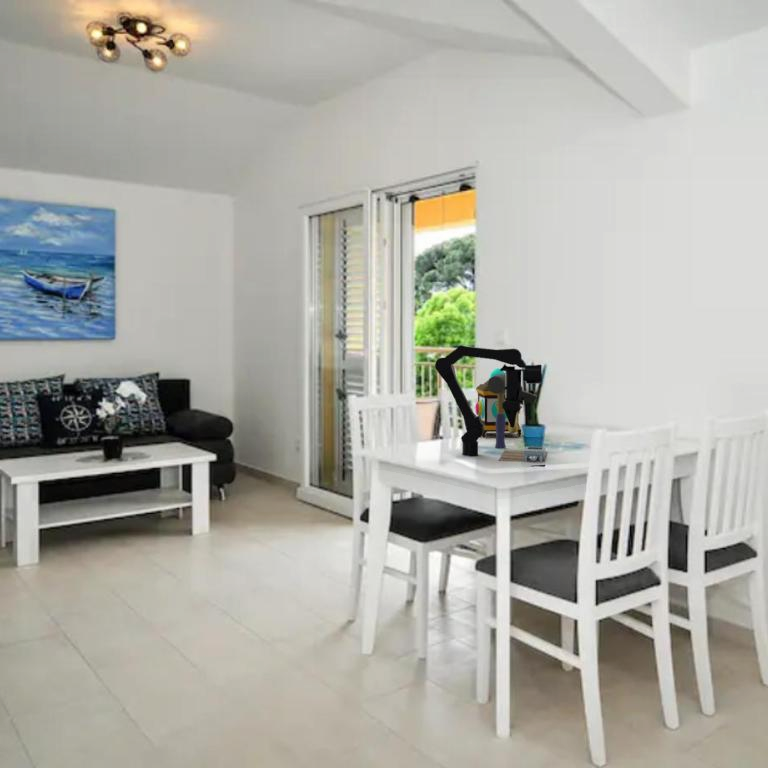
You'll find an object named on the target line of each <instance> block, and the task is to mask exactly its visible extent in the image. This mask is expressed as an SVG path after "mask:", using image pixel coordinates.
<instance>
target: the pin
mask: <svg viewBox="0 0 768 768" xmlns="http://www.w3.org/2000/svg"><path fill="white" fill-rule="evenodd" d="M518 423H519V414H518V412H517V415H516V420H515V425H514V427H511V426H510V423H509V432H508V433H510V434H511V433H512V434H515V433H516V434H517V432H518Z"/></svg>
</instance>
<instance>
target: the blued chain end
mask: <svg viewBox="0 0 768 768" xmlns="http://www.w3.org/2000/svg"><path fill="white" fill-rule="evenodd" d="M545 450H546V446H525V448H523V451H524V462H523V463H528V462H527V460H528V459H529V461H530V462H529V463H538V462H537V460H540V462H542V460H544V457H545Z"/></svg>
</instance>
